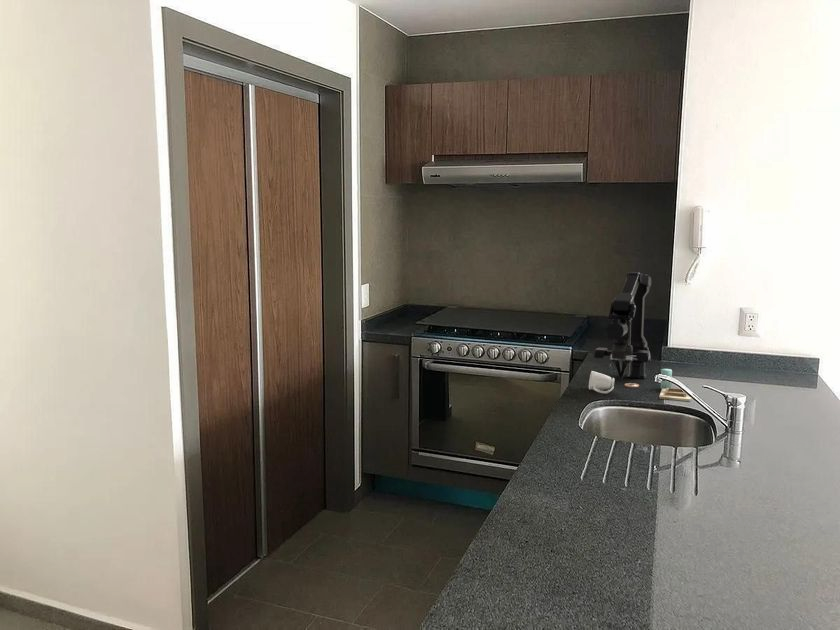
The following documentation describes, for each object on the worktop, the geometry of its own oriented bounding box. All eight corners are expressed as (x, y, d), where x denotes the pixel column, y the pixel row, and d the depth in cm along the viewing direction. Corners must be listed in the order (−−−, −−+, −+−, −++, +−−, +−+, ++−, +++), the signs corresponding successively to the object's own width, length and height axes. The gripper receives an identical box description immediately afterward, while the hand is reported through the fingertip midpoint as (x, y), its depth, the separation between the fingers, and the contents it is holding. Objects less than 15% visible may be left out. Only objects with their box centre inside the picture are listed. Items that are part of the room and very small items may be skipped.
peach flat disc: (625, 383, 262) (625, 382, 262) (639, 384, 260) (639, 383, 260) (623, 386, 257) (623, 385, 257) (637, 387, 255) (637, 386, 255)
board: (662, 390, 251) (662, 385, 251) (692, 393, 247) (692, 388, 247) (659, 398, 240) (659, 393, 240) (690, 401, 236) (690, 396, 236)
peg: (661, 387, 255) (661, 368, 254) (671, 388, 254) (672, 369, 253) (660, 389, 252) (660, 370, 251) (670, 390, 251) (671, 371, 250)
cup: (614, 370, 254) (592, 366, 255) (616, 385, 245) (592, 382, 246) (610, 386, 257) (588, 382, 258) (612, 402, 249) (588, 398, 250)
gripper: (591, 337, 244) (590, 380, 247) (647, 340, 237) (645, 385, 239) (596, 331, 254) (596, 374, 257) (650, 334, 247) (649, 378, 249)
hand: (621, 378), depth 250 cm, fingers closed
